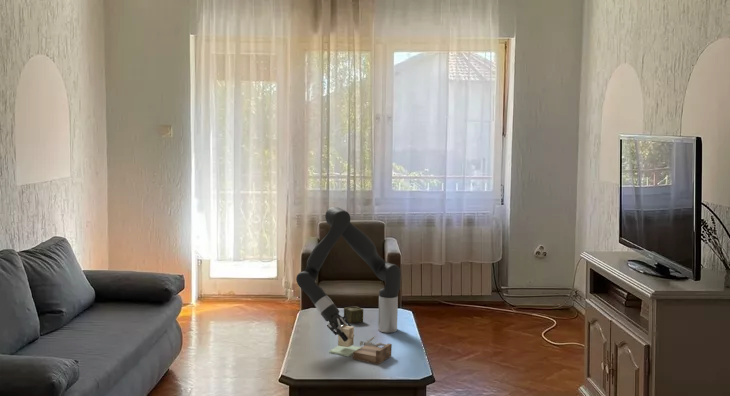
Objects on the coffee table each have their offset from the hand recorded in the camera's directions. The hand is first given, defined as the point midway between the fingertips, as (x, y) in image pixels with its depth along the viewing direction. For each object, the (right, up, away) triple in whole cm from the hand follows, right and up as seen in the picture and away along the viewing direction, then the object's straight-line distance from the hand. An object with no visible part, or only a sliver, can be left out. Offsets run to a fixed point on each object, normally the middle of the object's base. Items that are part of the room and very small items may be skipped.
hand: (349, 338), depth 321 cm
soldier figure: (+11, -6, +4) cm, 13 cm away
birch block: (-2, -3, +1) cm, 4 cm away
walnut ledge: (+9, -7, -7) cm, 13 cm away
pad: (-2, -6, +1) cm, 6 cm away
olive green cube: (+1, -2, +50) cm, 50 cm away
